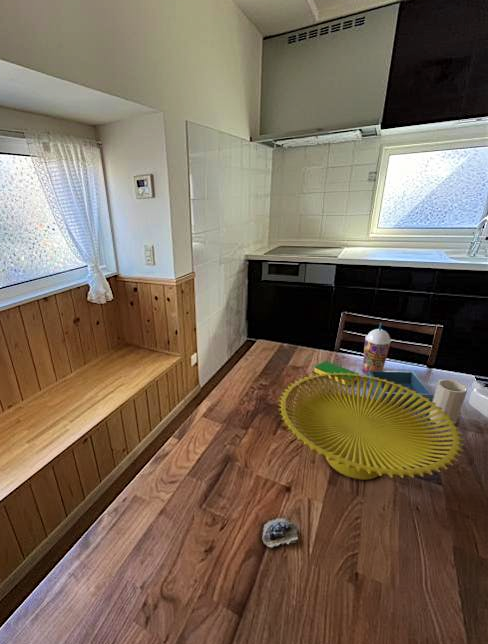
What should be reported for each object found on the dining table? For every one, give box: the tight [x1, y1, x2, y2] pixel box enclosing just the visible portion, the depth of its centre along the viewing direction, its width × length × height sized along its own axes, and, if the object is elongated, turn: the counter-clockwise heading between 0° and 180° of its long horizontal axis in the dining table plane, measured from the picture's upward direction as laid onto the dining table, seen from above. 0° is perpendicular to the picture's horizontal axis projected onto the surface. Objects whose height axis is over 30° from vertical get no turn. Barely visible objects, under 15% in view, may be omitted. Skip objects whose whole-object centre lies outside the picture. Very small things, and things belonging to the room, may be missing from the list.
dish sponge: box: [314, 360, 360, 387], centre depth 126 cm, size 7×14×2 cm, turn 37°
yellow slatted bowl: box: [277, 372, 465, 481], centre depth 86 cm, size 40×40×15 cm
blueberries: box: [261, 517, 299, 548], centre depth 71 cm, size 7×8×2 cm
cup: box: [428, 378, 468, 427], centre depth 98 cm, size 7×7×12 cm
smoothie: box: [362, 322, 392, 374], centre depth 124 cm, size 8×8×20 cm
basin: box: [366, 370, 434, 409], centre depth 113 cm, size 15×15×5 cm
